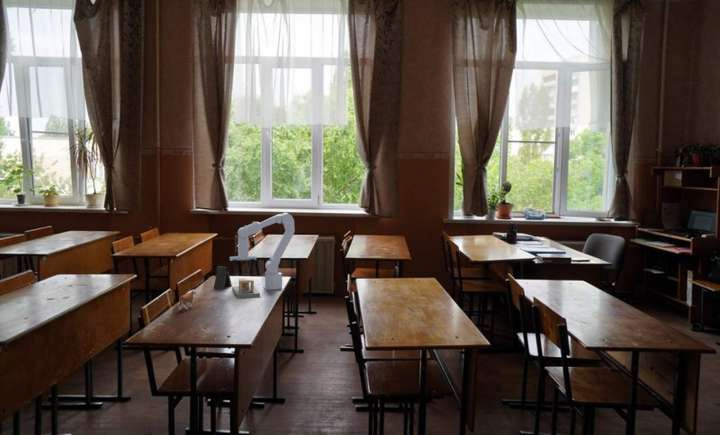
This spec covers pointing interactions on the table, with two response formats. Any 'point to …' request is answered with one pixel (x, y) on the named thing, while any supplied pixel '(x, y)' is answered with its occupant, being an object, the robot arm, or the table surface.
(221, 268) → the phone stand
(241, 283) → the tunnel
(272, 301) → the table surface
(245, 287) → the block
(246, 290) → the deck
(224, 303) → the table surface
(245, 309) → the table surface
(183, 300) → the bull figurine
